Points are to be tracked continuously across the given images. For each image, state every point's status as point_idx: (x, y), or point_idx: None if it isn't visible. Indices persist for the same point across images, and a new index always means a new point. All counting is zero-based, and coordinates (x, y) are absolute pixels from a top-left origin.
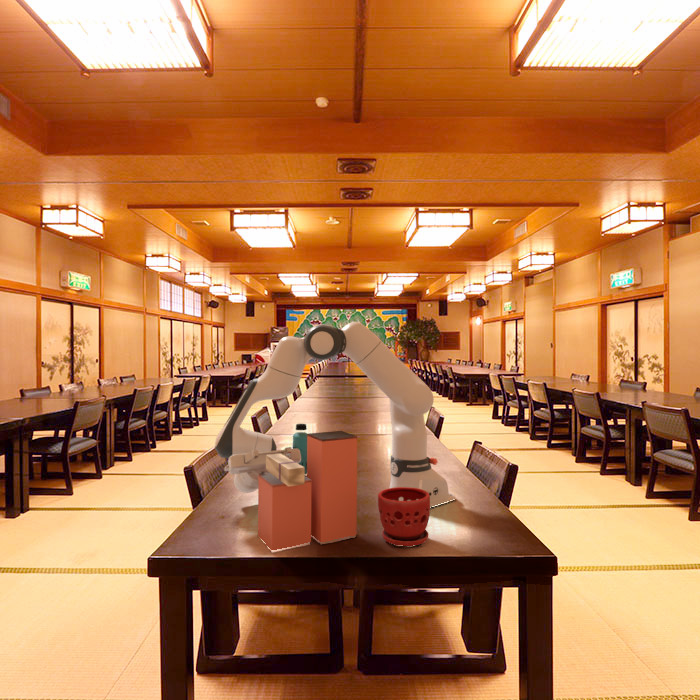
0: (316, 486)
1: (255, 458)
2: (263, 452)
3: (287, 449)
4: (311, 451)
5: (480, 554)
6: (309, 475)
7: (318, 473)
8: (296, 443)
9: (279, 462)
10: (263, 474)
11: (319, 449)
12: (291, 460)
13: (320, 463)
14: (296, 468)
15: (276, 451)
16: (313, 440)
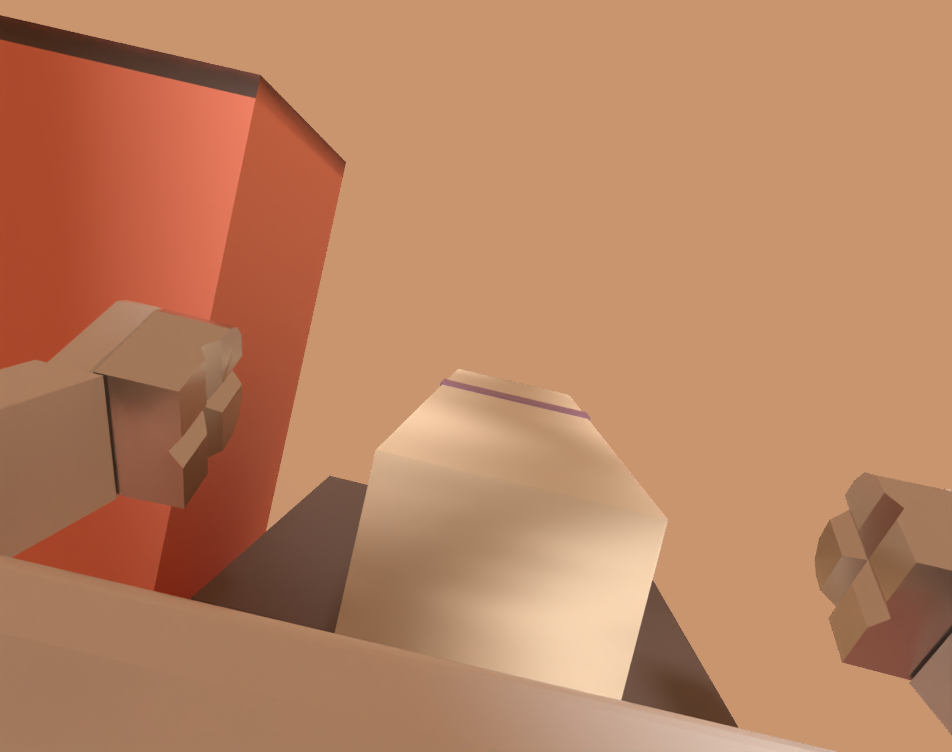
0: (240, 540)
1: (876, 668)
2: (679, 722)
3: (228, 354)
4: (261, 272)
5: None
6: (193, 526)
7: (275, 424)
8: None
9: (576, 419)
10: (671, 691)
11: (319, 237)
12: (447, 391)
13: (303, 339)
14: (514, 382)
15: (171, 603)
16: (297, 163)
